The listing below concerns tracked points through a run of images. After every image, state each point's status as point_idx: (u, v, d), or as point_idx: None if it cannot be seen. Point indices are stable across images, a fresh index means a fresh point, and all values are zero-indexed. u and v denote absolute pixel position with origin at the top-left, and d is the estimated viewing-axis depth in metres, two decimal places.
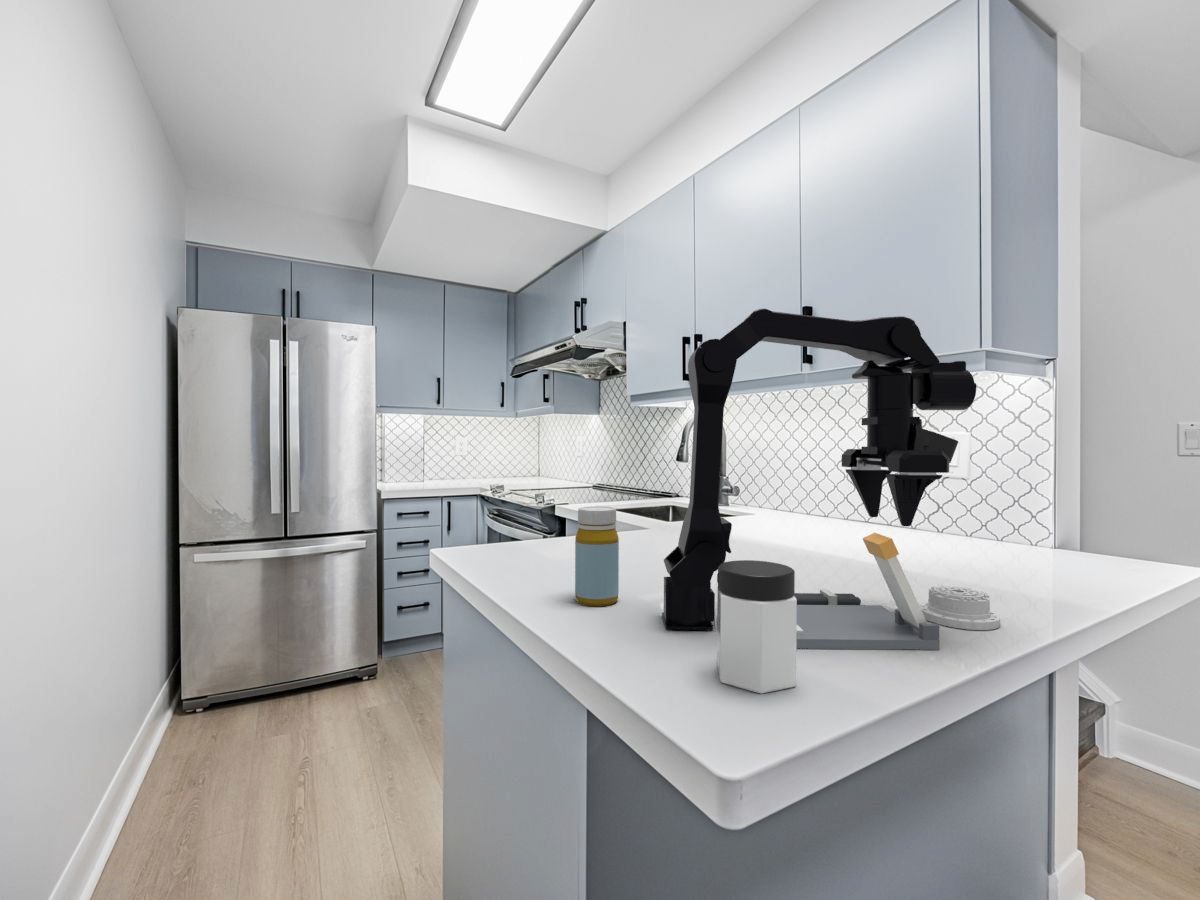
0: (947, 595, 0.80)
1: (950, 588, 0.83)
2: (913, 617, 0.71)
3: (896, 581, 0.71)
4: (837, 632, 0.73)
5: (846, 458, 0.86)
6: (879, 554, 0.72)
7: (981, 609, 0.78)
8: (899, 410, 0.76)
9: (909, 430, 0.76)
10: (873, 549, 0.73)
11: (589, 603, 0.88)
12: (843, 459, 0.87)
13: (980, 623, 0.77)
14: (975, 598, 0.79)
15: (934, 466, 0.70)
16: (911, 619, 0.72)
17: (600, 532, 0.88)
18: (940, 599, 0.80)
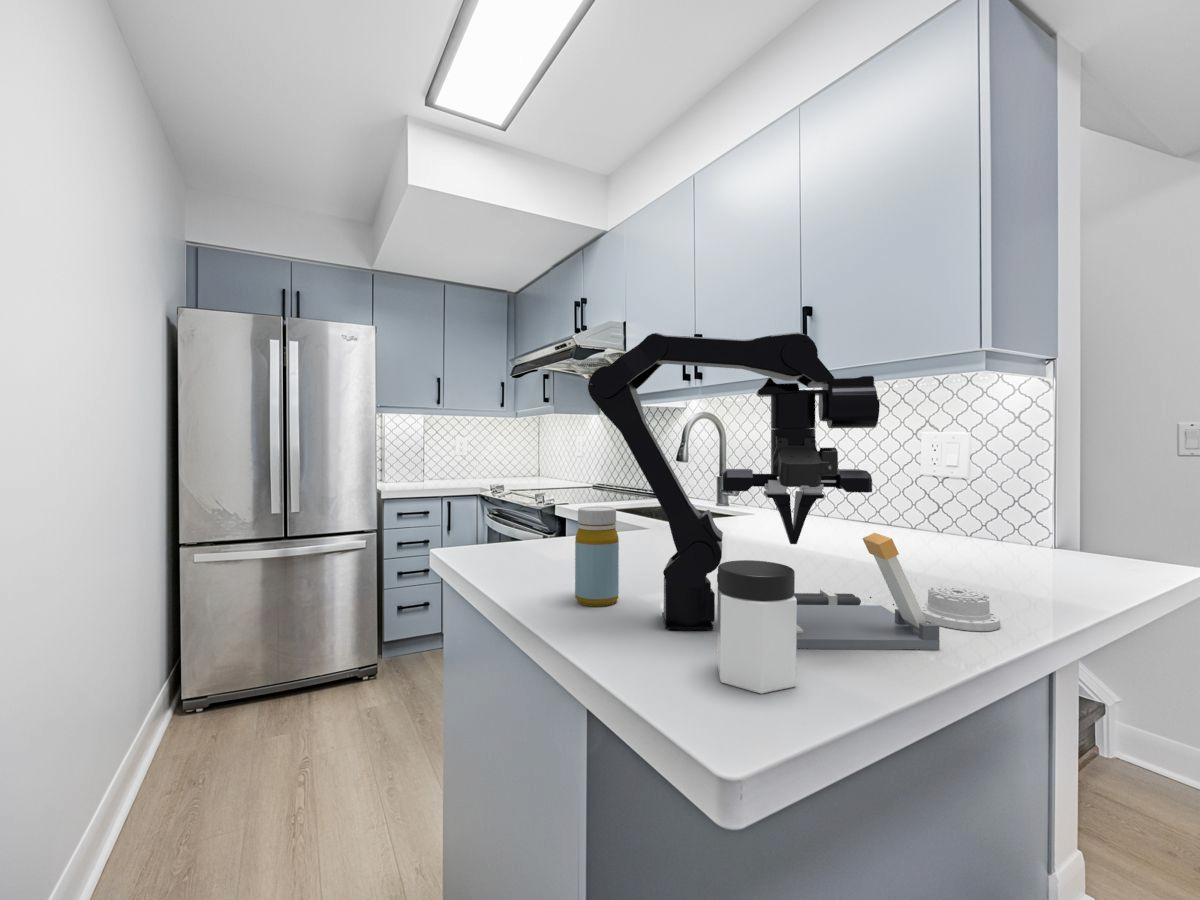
0: (947, 596, 0.80)
1: (950, 589, 0.83)
2: (913, 617, 0.71)
3: (896, 581, 0.71)
4: (837, 632, 0.73)
5: None
6: (879, 554, 0.72)
7: (981, 610, 0.78)
8: (771, 430, 0.77)
9: (774, 450, 0.75)
10: (873, 549, 0.73)
11: (589, 603, 0.88)
12: None
13: (980, 624, 0.77)
14: (975, 599, 0.78)
15: None
16: (911, 619, 0.72)
17: (600, 532, 0.88)
18: (940, 600, 0.80)
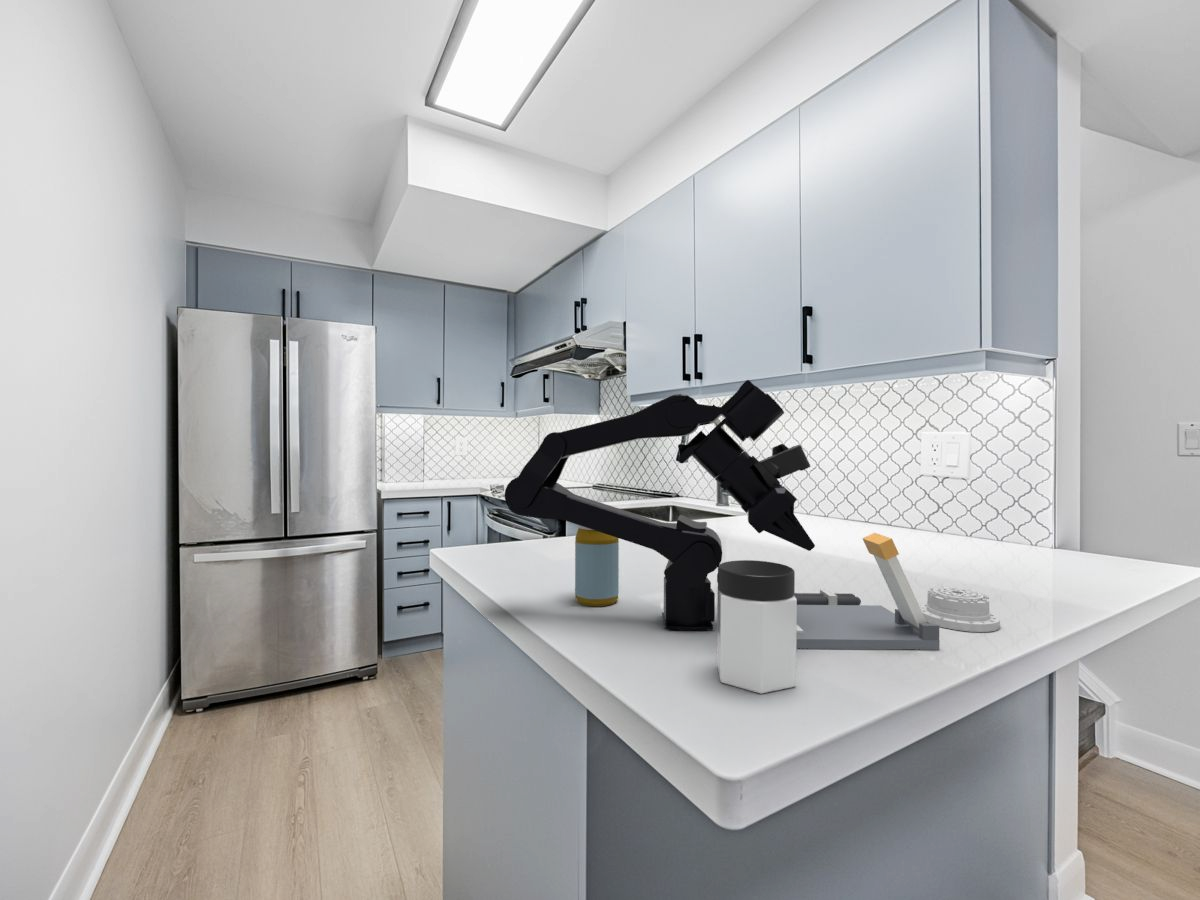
0: (946, 596, 0.80)
1: (949, 589, 0.83)
2: (913, 617, 0.71)
3: (896, 581, 0.71)
4: (837, 632, 0.73)
5: None
6: (879, 554, 0.72)
7: (980, 611, 0.78)
8: (730, 467, 0.76)
9: (752, 473, 0.75)
10: (873, 549, 0.73)
11: (589, 603, 0.88)
12: None
13: (979, 625, 0.76)
14: (974, 600, 0.78)
15: (779, 507, 0.68)
16: (911, 619, 0.72)
17: (600, 532, 0.88)
18: (939, 601, 0.80)
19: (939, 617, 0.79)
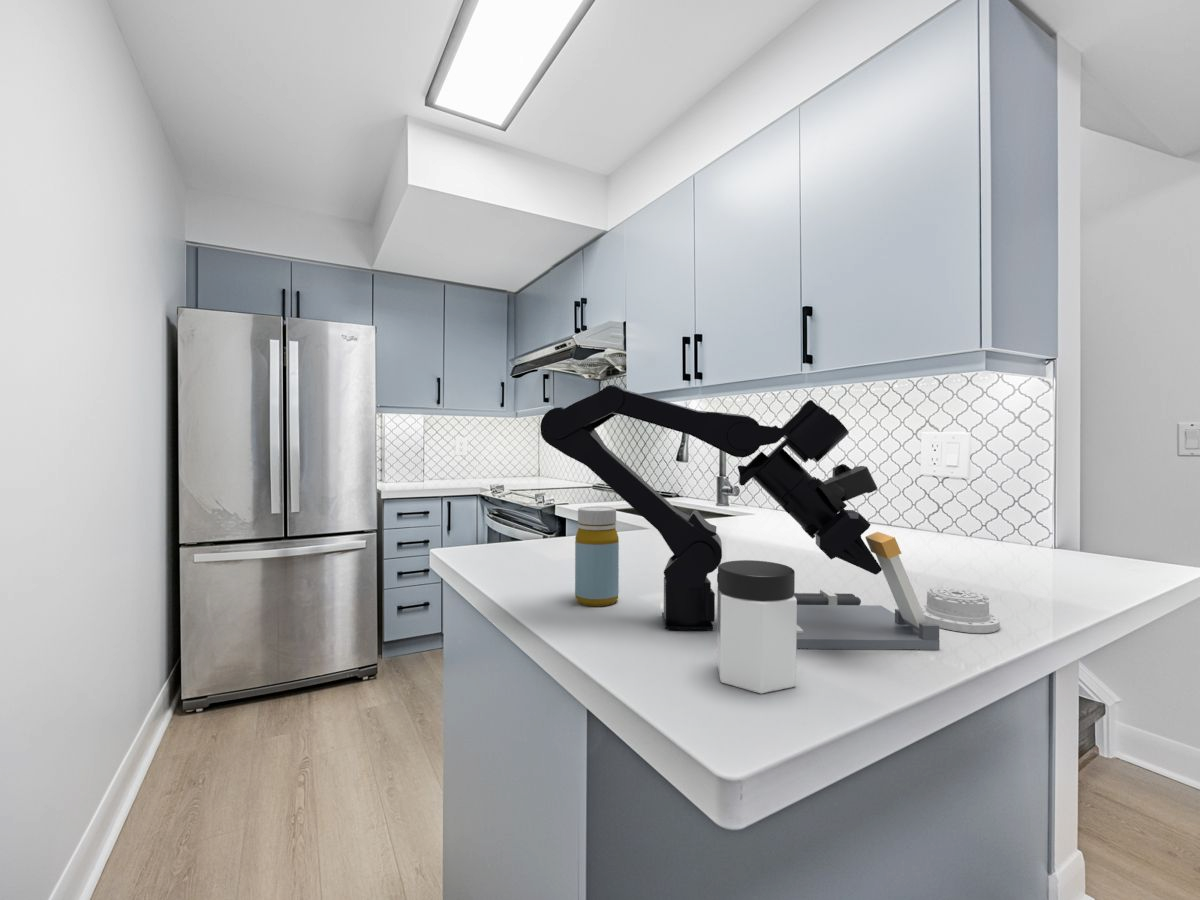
0: (946, 597, 0.79)
1: (949, 590, 0.82)
2: (913, 617, 0.71)
3: (898, 580, 0.71)
4: (837, 632, 0.73)
5: None
6: (881, 553, 0.72)
7: (980, 612, 0.77)
8: (794, 489, 0.74)
9: (817, 496, 0.73)
10: (875, 548, 0.73)
11: (589, 603, 0.88)
12: None
13: (979, 626, 0.76)
14: (974, 600, 0.77)
15: (853, 533, 0.66)
16: (911, 619, 0.72)
17: (600, 532, 0.88)
18: (938, 602, 0.79)
19: (938, 618, 0.79)
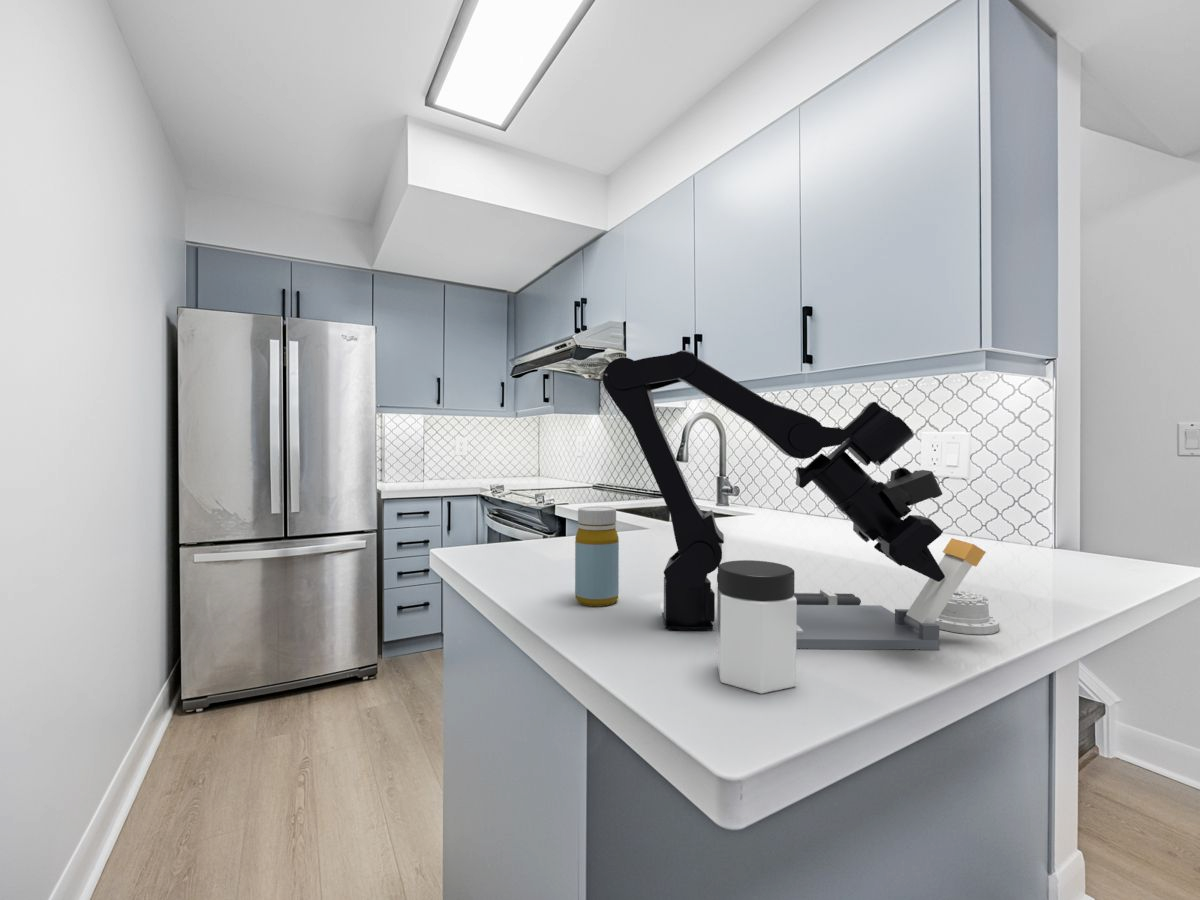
0: None
1: None
2: (927, 614, 0.71)
3: (950, 580, 0.71)
4: (837, 632, 0.73)
5: (858, 534, 0.82)
6: (960, 553, 0.72)
7: (979, 613, 0.77)
8: (857, 493, 0.72)
9: (881, 500, 0.72)
10: (955, 548, 0.73)
11: (589, 603, 0.88)
12: (857, 534, 0.83)
13: (978, 627, 0.75)
14: (973, 602, 0.77)
15: (925, 539, 0.65)
16: (920, 615, 0.72)
17: (600, 532, 0.88)
18: None
19: (937, 619, 0.78)
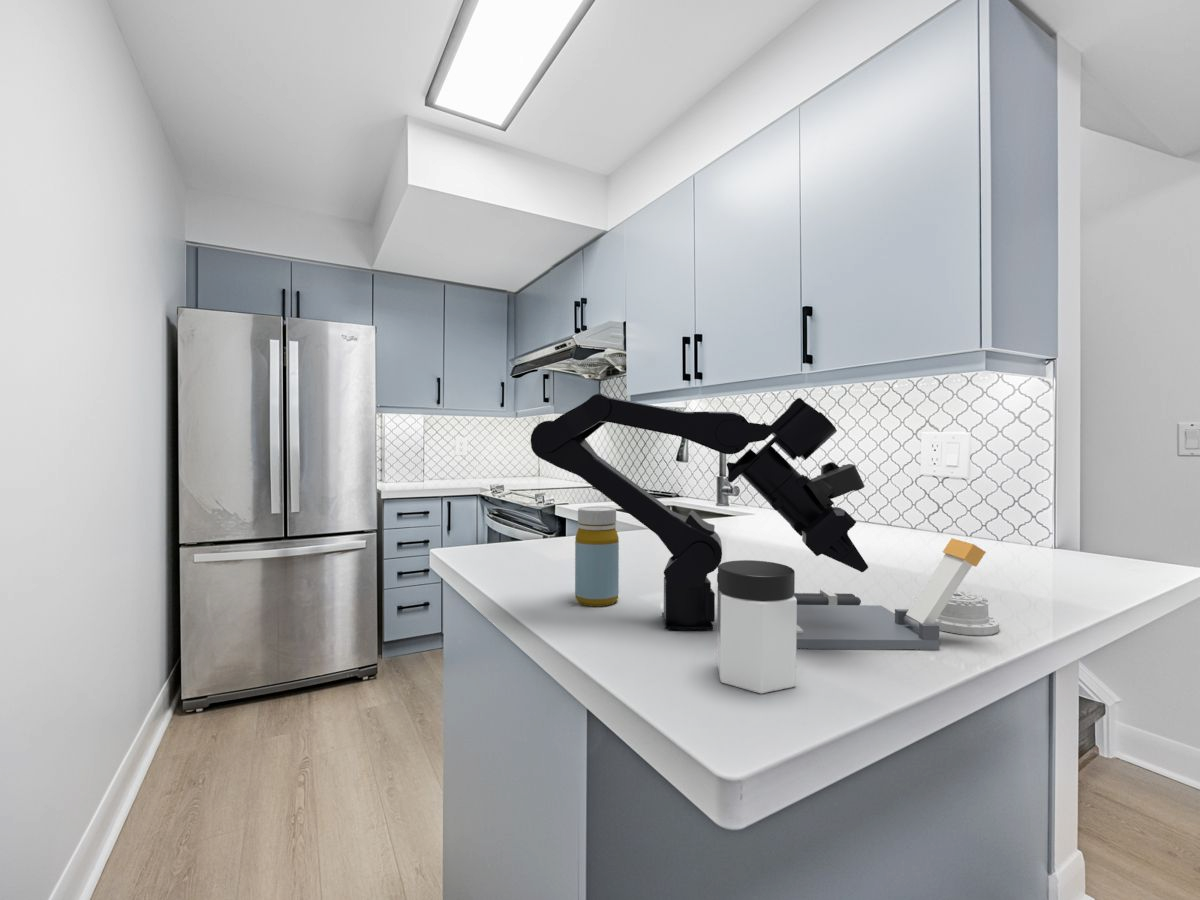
0: None
1: None
2: (927, 614, 0.71)
3: (950, 580, 0.71)
4: (837, 632, 0.73)
5: None
6: (960, 553, 0.72)
7: (979, 614, 0.76)
8: (782, 486, 0.74)
9: (805, 493, 0.74)
10: (955, 548, 0.73)
11: (589, 603, 0.88)
12: None
13: (978, 628, 0.75)
14: (973, 602, 0.76)
15: (839, 530, 0.66)
16: (920, 615, 0.72)
17: (600, 532, 0.88)
18: None
19: (937, 620, 0.78)
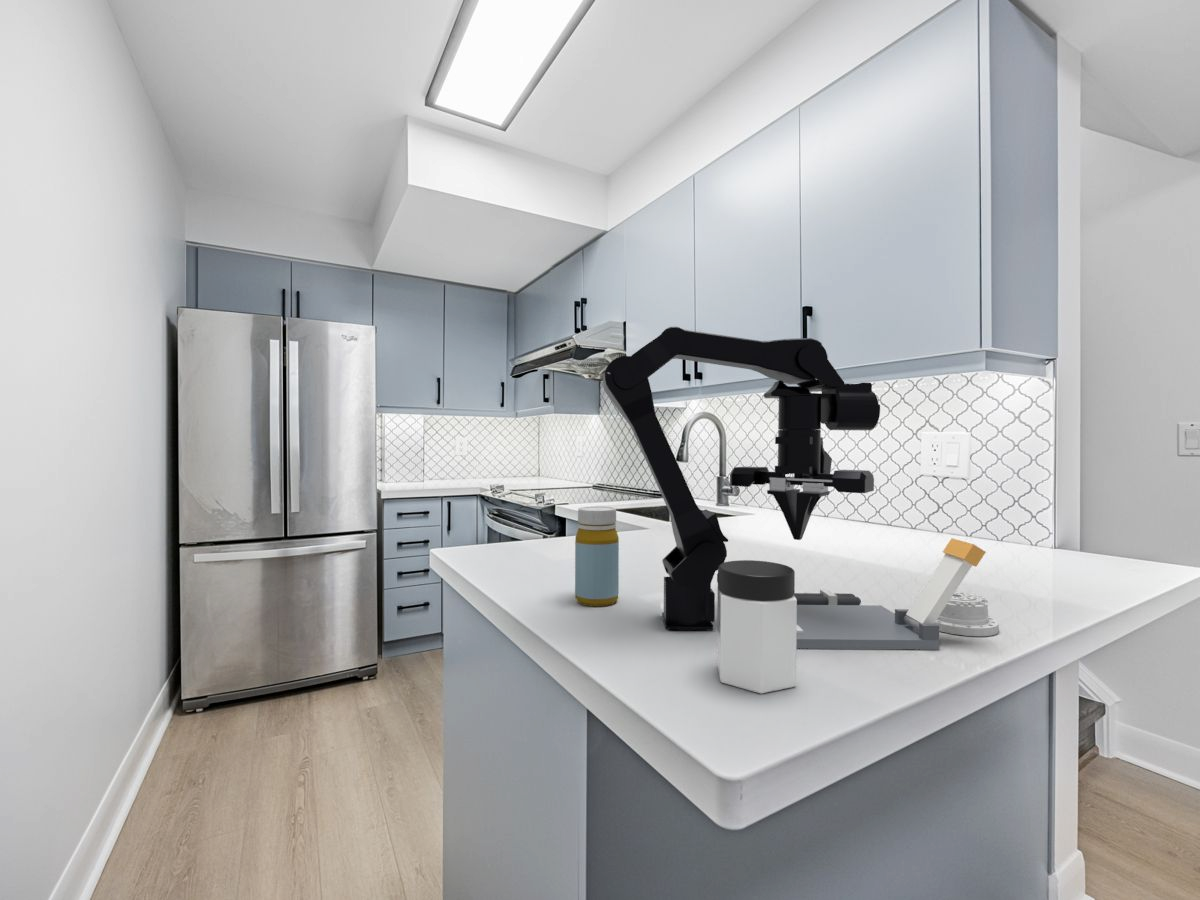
0: None
1: None
2: (927, 614, 0.71)
3: (950, 580, 0.71)
4: (837, 632, 0.73)
5: (743, 477, 0.82)
6: (960, 553, 0.72)
7: (978, 615, 0.76)
8: (819, 431, 0.78)
9: None
10: (955, 548, 0.73)
11: (589, 603, 0.88)
12: (736, 478, 0.83)
13: (977, 629, 0.75)
14: (972, 603, 0.76)
15: (871, 486, 0.75)
16: (920, 615, 0.72)
17: (600, 532, 0.88)
18: None
19: (936, 621, 0.77)
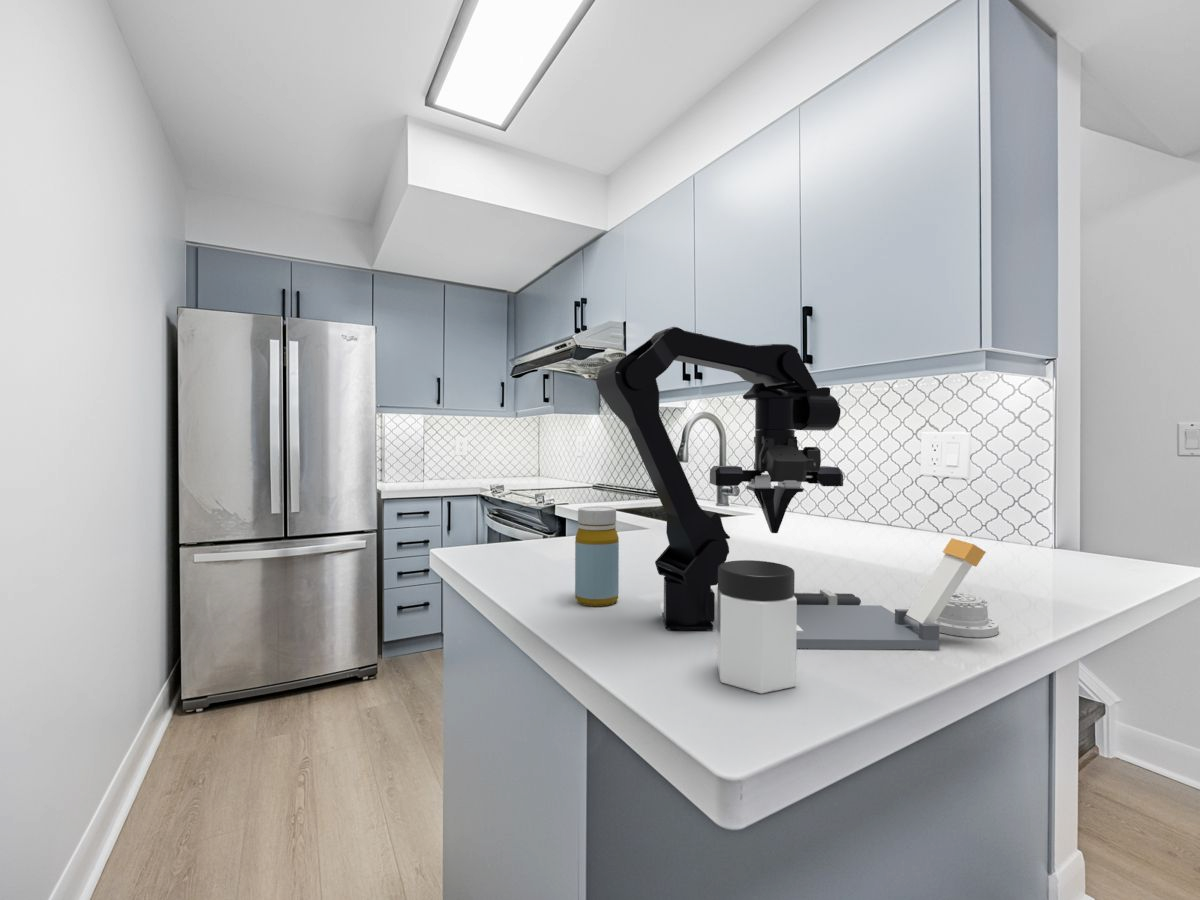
0: None
1: None
2: (927, 614, 0.71)
3: (950, 580, 0.71)
4: (837, 632, 0.73)
5: None
6: (960, 553, 0.72)
7: (978, 616, 0.75)
8: (756, 431, 0.85)
9: (760, 449, 0.84)
10: (955, 548, 0.73)
11: (589, 603, 0.88)
12: None
13: (977, 630, 0.74)
14: (972, 604, 0.76)
15: (713, 479, 0.84)
16: (920, 615, 0.72)
17: (600, 532, 0.88)
18: None
19: (935, 622, 0.77)
